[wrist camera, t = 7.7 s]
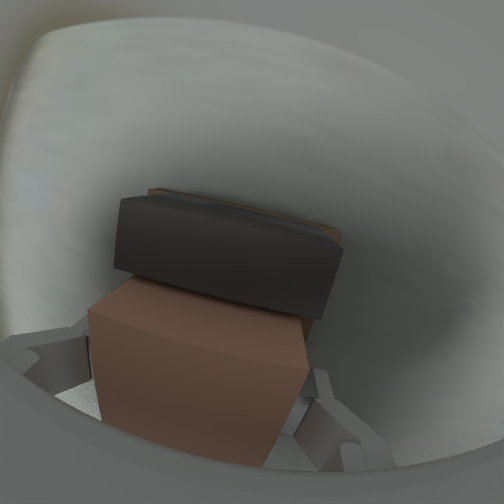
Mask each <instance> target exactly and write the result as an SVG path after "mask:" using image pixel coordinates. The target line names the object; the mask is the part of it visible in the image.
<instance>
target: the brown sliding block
mask: <svg viewBox="0 0 504 504" xmlns="http://www.w3.org/2000/svg"><path fill="white" fill-rule="evenodd" d="M88 325H89V338H90V349H91V358H92V366H93V374H94V380H95V387H96V393H97V398H98V404H99V409H100V413H101V418H102V422H104V423H107V424H109V425H111V426H113V427H116V428H118V429H120V430H123V431H125V432H128V433H130V434H133V435H135V436H138V437H140V438H143V439H146V440H149V441H151V442H154V443H157V444H160V445H163V446H166V447H170V448H173V449H176V450H180V451H183V452H187V453H190V454H194V455H198V456H202V457H206V458H211V459H215V460H220V461H225V462H230V463H235V464H241V465H247V466H254V467H262V465H263V463H264V462H265V460H266V458H267V456H268V455H269V453H270V451H271V449H272V447H273V445H274V443H275V442H276V440H277V438H278V436H279V434H280V432H281V430H282V428H283V426H284V424H285V422H286V420H287V418H288V416H289V414H290V412H291V410H292V408H293V406H294V404H295V402H296V399H297V397H298V395H299V393H300V391H301V389H302V386H303V384H304V382H305V380H306V377H307V375H308V373H309V370H310V368H309V363H308V358H307V353H306V347H305V342H304V337H303V332H302V327H301V323H300V318H299V315H296V314H291V313H286V312H281V311H277V310H272V309H268V308H263V307H259V306H254V305H250V304H246V303H242V302H237V301H233V300H229V299H225V298H221V297H217V296H213V295H209V294H205V293H201V292H197V291H193V290H190V289H186V288H182V287H179V286H175V285H171V284H168V283H164V282H160V281H157V280H153V279H150V278H146V277H143V276H140V275H136V274H135V275H134V276H132V277H131V278H129V279H128V280H127V281H125V282H124V283H122V284H121V285H120V286H118V287H117V288H116V289H114V290H113V291H111V292H110V293H109V294H107V295H106V296H105V297H103V298H102V299H101V300H99V301H98V302H97V303H95V304H94V305H93V306H91V307H90V308H89V309H88Z"/></svg>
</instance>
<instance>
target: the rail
mask: <svg viewBox="0 0 504 504" xmlns="http://www.w3.org/2000/svg"><path fill="white" fill-rule="evenodd" d="M340 234H341V233H340V232H339V231H337V230H336V229H333V228H330V227H326V226H322V225H318V224H314V223H311V222H307V221H303V220H299V219H295V218H291V217H287V216H283V215H278V214H274V213H270V212H266V211H262V210H257V209H253V208H249V207H244V206H240V205H236V204H231V203H226V202H222V201H217V200H213V199H208V198H203V197H198V196H193V195H189V194H184V193H179V192H173V191H168V190H163V189H158V188H157V189H148V195H147V196H140V197H132V198H124V199H121V203H120V210H119V218H118V226H117V235H116V246H115V259H114V268H116V269H120V270H123V271H126V272H129V273H133V274H136V275H140V276H143V277H146V278H150V279H153V280H157V281H160V282H164V283H168V284H171V285H175V286H179V287H182V288H186V289H190V290H193V291H197V292H201V293H205V294H209V295H213V296H217V297H221V298H225V299H229V300H233V301H237V302H242V303H246V304H250V305H254V306H259V307H263V308H268V309H272V310H277V311H281V312H286V313H291V314H296V315H299V318H300V323H301V327H302V332H303V337H304V342H306V339H307V336H308V334H309V331H310V328H311V325H312V323H313V320H314V318H315V319H321V317H322V314H323V311H324V308H325V305H326V302H327V299H328V296H329V293H330V290H331V287H332V284H333V281H334V278H335V275H336V272H337V269H338V265H339V262H340V259H341V255H342V252H343V249H342V248H341V247H340V246H339V245H337V244H338V241H339V237H340Z"/></svg>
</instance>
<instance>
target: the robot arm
mask: <svg viewBox="0 0 504 504" xmlns="http://www.w3.org/2000/svg"><path fill="white" fill-rule="evenodd" d="M91 379H93V380H94V374H93V366H92V358H91V349H90V338H89V325H88V315H86V316H85V317H84V318H83V319H81V320H80V321H79V322H78V323H76V324H75V325H74V326H73V327H71V328H68V327H64V328H58V329H51V330H45V331H39V332H32V333H25V334H18V335H11V336H10V337H9V338H7V339H6V340H4V341H3V342H2V343H0V504H504V439H502V440H499V441H497V442H494V443H492V444H489V445H486V446H484V447H481V448H478V449H475V450H472V451H469V452H465V453H462V454H458V455H455V456H451V457H447V458H443V459H439V460H435V461H430V462H425V463H420V464H415V465H409V466H402V467H396V464H395V461H394V459H393V456H392V453H391V450H390V448H389V445H388V442H387V440H385V439H384V438H383V437H382V436H380V435H379V434H378V433H377V432H376V431H374V430H373V429H372V428H371V427H369V426H368V425H367V424H366V423H365V422H363V421H362V420H361V419H360V418H359V417H358V416H356V415H355V414H354V413H353V412H352V411H350V410H349V409H348V408H347V407H346V406H345V405H343V404H342V403H341V402H340V401H336V400H335V398H334V394H333V391H332V387H331V383H330V380H329V376H328V373H327V370H326V369H319V368H310V370H309V373H308V375H307V377H306V380H305V382H304V384H303V386H302V389H301V391H300V393H299V395H298V397H297V399H296V402H295V404H294V406H293V408H292V410H291V412H290V414H289V416H288V418H287V420H286V422H285V424H284V426H283V428H282V430H281V432H280V433H281V434H288V435H294V438H295V439H296V440H297V442H298V443H299V445H300V446H301V447H302V449H303V450H304V452H305V453H306V454H307V456H308V457H309V459H310V460H311V461H312V463H313V464H314V465H315V467H316V468H317V469H318V471H319V472H309V471H291V470H279V469H270V468H261V467H254V466H247V465H241V464H235V463H230V462H225V461H220V460H215V459H211V458H206V457H202V456H198V455H194V454H190V453H187V452H183V451H180V450H176V449H173V448H170V447H166V446H163V445H160V444H157V443H154V442H151V441H149V440H146V439H143V438H140V437H138V436H135V435H133V434H130V433H128V432H125V431H123V430H120V429H118V428H116V427H113V426H111V425H109V424H107V423H104V422H102V421H100V420H98V419H96V418H94V417H92V416H90V415H88V414H86V413H84V412H82V411H80V410H78V409H76V408H74V407H73V406H71V405H69V404H67V403H65V402H64V401H62V400H60V399H58V398H57V397H55V396H53V395H56V394H58V393H61V392H63V391H66V390H68V389H70V388H73V387H75V386H78V385H80V384H83V383H85V382H87V381H90V380H91Z"/></svg>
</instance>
